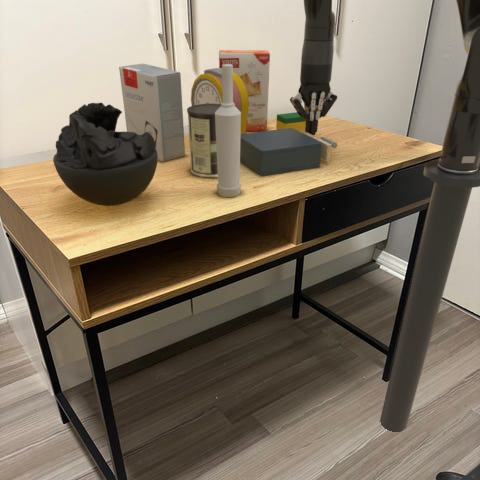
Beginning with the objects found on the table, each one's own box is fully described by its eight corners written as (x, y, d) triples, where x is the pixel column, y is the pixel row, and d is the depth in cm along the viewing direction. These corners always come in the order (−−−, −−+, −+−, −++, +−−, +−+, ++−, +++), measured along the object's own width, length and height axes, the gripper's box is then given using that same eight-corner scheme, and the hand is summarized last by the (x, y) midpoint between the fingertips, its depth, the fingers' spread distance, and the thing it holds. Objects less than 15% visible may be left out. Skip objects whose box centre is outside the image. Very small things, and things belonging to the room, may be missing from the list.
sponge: (297, 133, 148) (298, 111, 144) (305, 138, 144) (307, 115, 140) (275, 136, 145) (276, 114, 142) (284, 141, 141) (285, 118, 138)
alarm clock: (191, 138, 144) (187, 66, 133) (213, 132, 148) (211, 63, 138) (225, 149, 135) (224, 74, 124) (248, 143, 139) (249, 70, 129)
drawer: (316, 143, 136) (317, 128, 134) (344, 158, 126) (346, 142, 124) (253, 152, 130) (253, 137, 128) (277, 168, 120) (278, 152, 117)
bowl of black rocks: (134, 178, 117) (123, 90, 106) (179, 206, 104) (172, 109, 93) (49, 198, 107) (27, 103, 96) (86, 231, 94) (66, 126, 83)
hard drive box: (127, 149, 135) (117, 66, 124) (151, 143, 140) (143, 62, 128) (162, 162, 126) (155, 74, 115) (186, 156, 130) (181, 70, 119)
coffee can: (234, 164, 125) (234, 103, 117) (231, 178, 117) (231, 114, 109) (193, 163, 126) (190, 102, 118) (187, 177, 118) (183, 113, 109)
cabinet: (290, 150, 135) (291, 127, 131) (319, 167, 124) (321, 142, 120) (235, 157, 129) (235, 134, 126) (261, 176, 118) (262, 151, 115)
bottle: (245, 194, 109) (246, 65, 94) (224, 199, 107) (221, 68, 92) (233, 187, 113) (232, 62, 98) (212, 191, 110) (208, 64, 96)
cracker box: (220, 132, 149) (218, 52, 136) (219, 126, 153) (218, 49, 141) (267, 132, 149) (270, 52, 137) (266, 126, 154) (268, 49, 142)
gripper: (300, 65, 117) (295, 141, 127) (348, 61, 122) (340, 135, 132) (285, 60, 123) (281, 133, 133) (331, 56, 127) (325, 128, 137)
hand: (310, 134), depth 132 cm, fingers closed
